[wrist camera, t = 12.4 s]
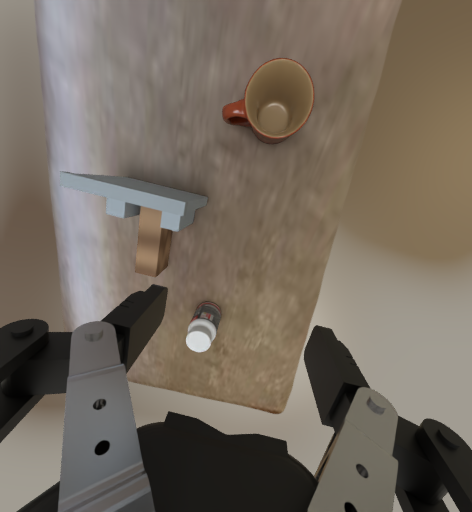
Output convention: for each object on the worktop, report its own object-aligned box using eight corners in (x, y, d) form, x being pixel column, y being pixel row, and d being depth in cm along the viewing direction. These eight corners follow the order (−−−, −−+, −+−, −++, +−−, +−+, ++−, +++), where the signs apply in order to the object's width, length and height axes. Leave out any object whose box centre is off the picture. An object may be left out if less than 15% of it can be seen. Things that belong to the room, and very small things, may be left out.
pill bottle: (198, 298, 49) (185, 325, 40) (223, 304, 49) (216, 332, 40) (194, 319, 51) (181, 350, 42) (218, 325, 51) (210, 357, 42)
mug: (298, 88, 36) (314, 51, 26) (299, 146, 39) (314, 133, 29) (225, 99, 37) (215, 68, 28) (231, 155, 40) (223, 145, 30)
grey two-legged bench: (126, 176, 42) (59, 171, 28) (209, 196, 42) (185, 202, 28) (124, 205, 44) (60, 215, 30) (203, 225, 44) (178, 244, 30)
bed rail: (156, 195, 43) (140, 197, 37) (176, 200, 43) (164, 203, 37) (149, 261, 48) (134, 272, 42) (167, 266, 48) (155, 277, 42)
